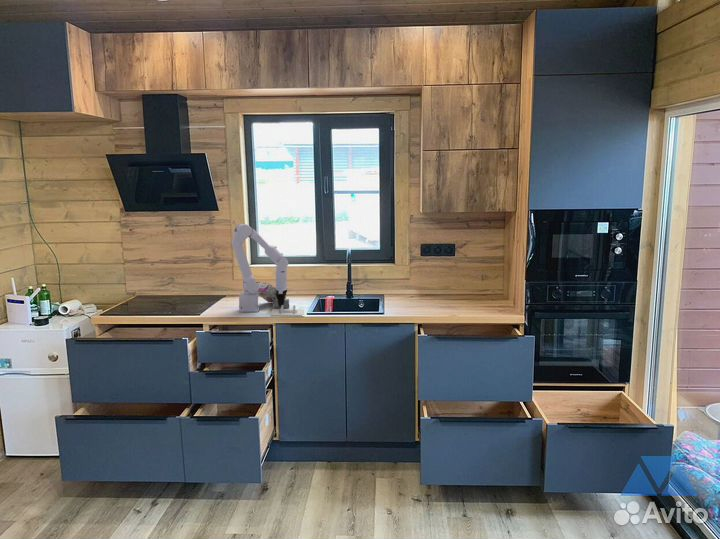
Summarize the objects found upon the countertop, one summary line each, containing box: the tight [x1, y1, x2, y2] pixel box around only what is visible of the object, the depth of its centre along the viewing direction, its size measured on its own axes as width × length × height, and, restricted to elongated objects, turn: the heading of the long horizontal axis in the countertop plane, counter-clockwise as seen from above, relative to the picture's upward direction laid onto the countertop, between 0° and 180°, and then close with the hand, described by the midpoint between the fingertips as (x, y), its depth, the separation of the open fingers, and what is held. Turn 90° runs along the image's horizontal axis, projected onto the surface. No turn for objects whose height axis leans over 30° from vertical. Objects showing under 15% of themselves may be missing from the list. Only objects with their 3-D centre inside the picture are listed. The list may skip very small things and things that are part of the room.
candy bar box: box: [256, 281, 287, 303], centre depth 289 cm, size 11×5×16 cm
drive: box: [272, 298, 290, 310], centre depth 282 cm, size 8×4×5 cm, turn 95°
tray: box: [270, 305, 305, 317], centre depth 271 cm, size 16×14×3 cm
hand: (281, 305), depth 282 cm, fingers open, 7 cm apart
